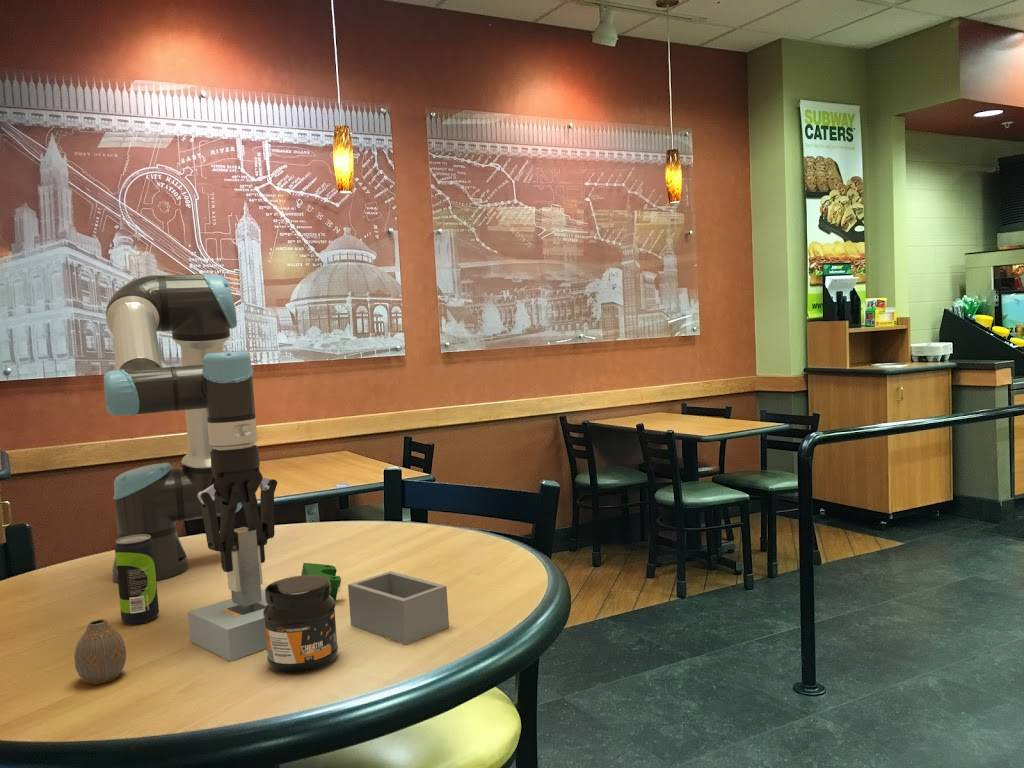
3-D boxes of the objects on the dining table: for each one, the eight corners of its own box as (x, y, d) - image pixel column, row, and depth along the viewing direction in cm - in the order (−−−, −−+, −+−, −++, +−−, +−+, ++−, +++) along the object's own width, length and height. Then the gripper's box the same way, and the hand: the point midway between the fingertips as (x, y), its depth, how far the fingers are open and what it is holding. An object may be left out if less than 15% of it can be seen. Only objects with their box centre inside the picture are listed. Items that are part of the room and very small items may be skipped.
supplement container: (272, 682, 117) (265, 600, 116) (263, 657, 126) (257, 581, 126) (345, 666, 121) (339, 587, 120) (331, 643, 130) (326, 569, 130)
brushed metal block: (232, 602, 135) (226, 529, 134) (250, 596, 137) (244, 525, 136) (243, 606, 132) (237, 532, 131) (261, 601, 134) (255, 528, 134)
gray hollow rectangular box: (350, 624, 138) (347, 584, 138) (393, 609, 145) (390, 571, 144) (406, 644, 128) (403, 601, 127) (449, 627, 134) (446, 586, 134)
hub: (190, 641, 135) (187, 611, 135) (266, 616, 145) (264, 588, 145) (230, 661, 125) (227, 629, 125) (309, 633, 135) (307, 603, 135)
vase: (88, 671, 125) (83, 615, 124) (135, 667, 125) (130, 611, 125) (68, 691, 118) (62, 632, 117) (117, 686, 118) (111, 628, 118)
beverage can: (167, 614, 149) (159, 534, 148) (141, 627, 143) (133, 543, 142) (140, 612, 151) (132, 533, 150) (113, 624, 145) (106, 542, 144)
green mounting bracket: (332, 626, 151) (342, 587, 148) (299, 623, 149) (309, 584, 146) (329, 584, 161) (339, 547, 158) (298, 582, 159) (308, 544, 156)
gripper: (195, 455, 125) (208, 604, 126) (290, 440, 136) (301, 577, 138) (175, 452, 130) (187, 595, 131) (267, 438, 141) (278, 570, 143)
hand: (245, 586), depth 135 cm, fingers closed on brushed metal block, 3 cm apart
